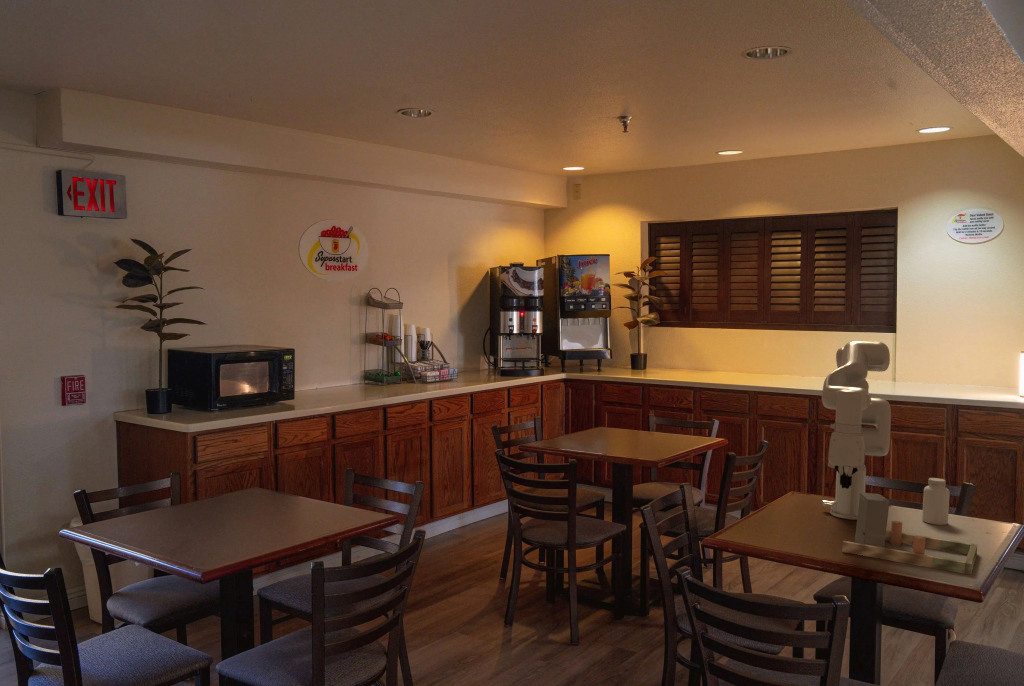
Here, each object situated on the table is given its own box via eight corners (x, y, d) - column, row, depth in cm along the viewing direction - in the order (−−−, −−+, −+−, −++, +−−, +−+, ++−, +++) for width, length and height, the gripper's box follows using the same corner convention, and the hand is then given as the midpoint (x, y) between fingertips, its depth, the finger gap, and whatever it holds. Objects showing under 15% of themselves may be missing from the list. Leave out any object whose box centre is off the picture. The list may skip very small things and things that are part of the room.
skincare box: (854, 542, 251) (856, 491, 250) (878, 543, 250) (880, 492, 250) (863, 550, 243) (865, 498, 242) (887, 551, 242) (890, 499, 241)
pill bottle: (927, 524, 274) (929, 481, 274) (918, 518, 282) (920, 476, 282) (952, 526, 273) (954, 482, 273) (942, 519, 281) (944, 477, 281)
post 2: (911, 561, 232) (913, 537, 232) (913, 559, 235) (914, 535, 234) (923, 563, 230) (924, 539, 230) (924, 561, 233) (925, 537, 233)
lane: (842, 551, 240) (842, 541, 240) (857, 534, 259) (857, 525, 259) (971, 574, 222) (971, 564, 222) (976, 554, 241) (977, 544, 241)
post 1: (889, 544, 249) (890, 522, 249) (891, 542, 252) (892, 520, 251) (900, 546, 247) (901, 523, 247) (901, 544, 250) (902, 521, 250)
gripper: (820, 428, 250) (817, 486, 251) (872, 433, 242) (869, 493, 243) (825, 425, 257) (822, 482, 257) (876, 430, 248) (873, 489, 249)
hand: (845, 487), depth 250 cm, fingers closed
